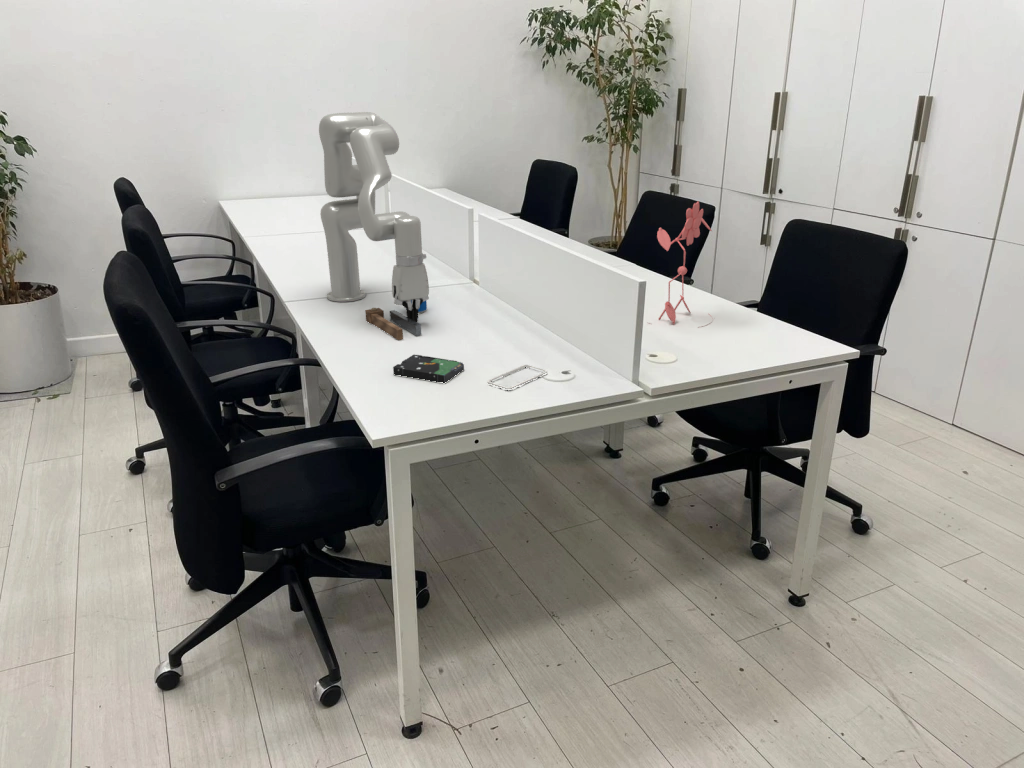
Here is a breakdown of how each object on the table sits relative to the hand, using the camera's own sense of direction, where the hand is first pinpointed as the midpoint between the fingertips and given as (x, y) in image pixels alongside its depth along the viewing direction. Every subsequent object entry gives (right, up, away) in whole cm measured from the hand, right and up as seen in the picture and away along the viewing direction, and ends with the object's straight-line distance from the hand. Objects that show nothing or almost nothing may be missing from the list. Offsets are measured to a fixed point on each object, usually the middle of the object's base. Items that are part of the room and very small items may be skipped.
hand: (412, 321), depth 228 cm
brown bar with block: (-7, -3, -2) cm, 8 cm away
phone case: (+31, -18, -38) cm, 52 cm away
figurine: (+82, +1, +4) cm, 82 cm away
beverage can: (-1, +4, +15) cm, 15 cm away
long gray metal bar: (-2, -2, -1) cm, 3 cm away
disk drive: (+8, -16, -34) cm, 38 cm away
